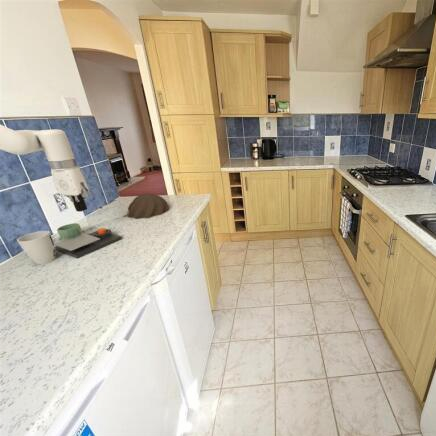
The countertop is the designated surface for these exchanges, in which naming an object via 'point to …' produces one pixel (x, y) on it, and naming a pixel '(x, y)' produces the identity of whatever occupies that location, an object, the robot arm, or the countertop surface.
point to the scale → (93, 244)
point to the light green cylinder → (69, 231)
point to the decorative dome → (147, 206)
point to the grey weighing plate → (76, 241)
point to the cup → (38, 246)
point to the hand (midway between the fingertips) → (82, 210)
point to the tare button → (101, 231)
